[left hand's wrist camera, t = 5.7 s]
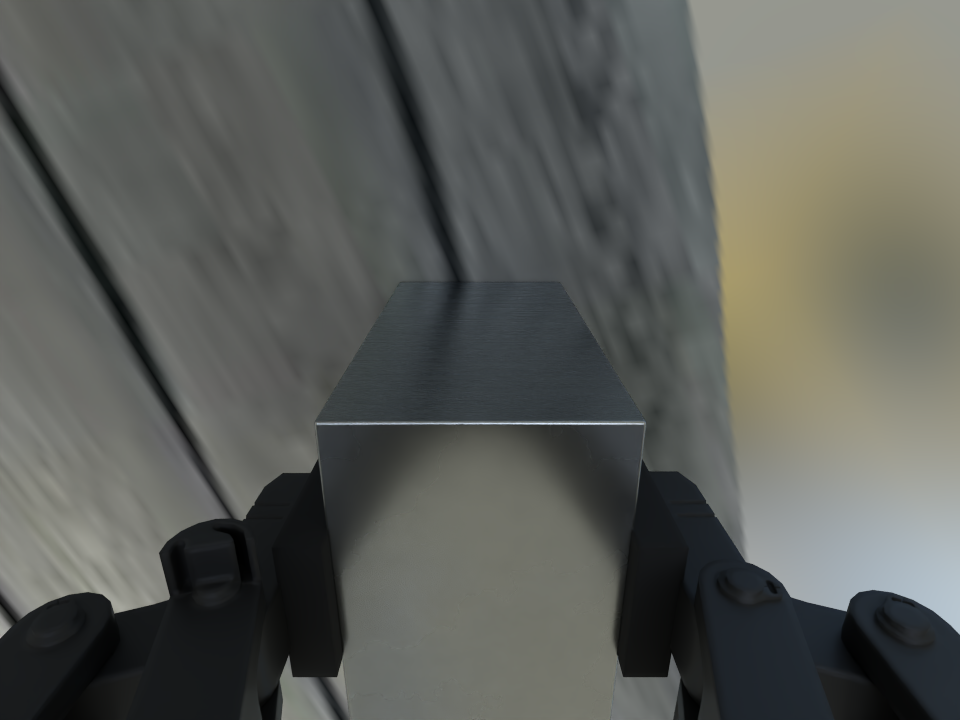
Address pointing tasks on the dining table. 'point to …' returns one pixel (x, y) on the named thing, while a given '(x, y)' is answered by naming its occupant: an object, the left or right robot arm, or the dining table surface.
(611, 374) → the brick
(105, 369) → the dining table surface
